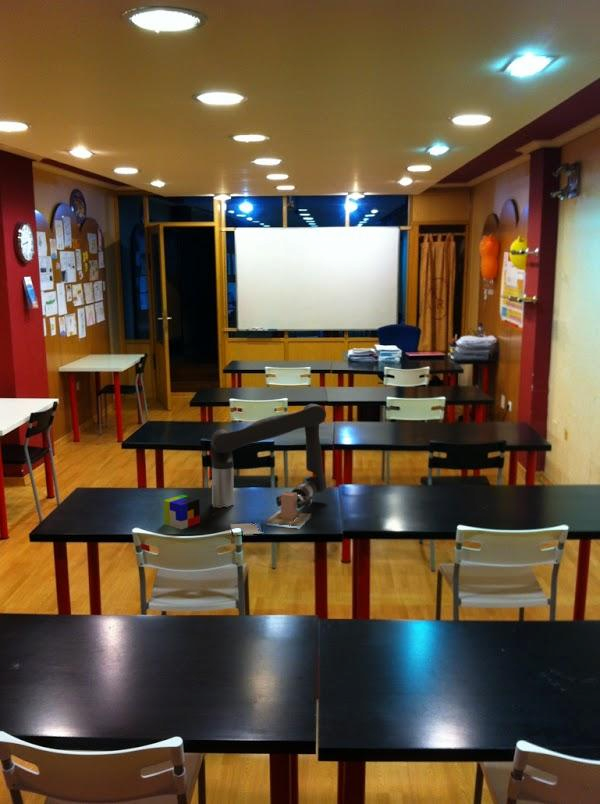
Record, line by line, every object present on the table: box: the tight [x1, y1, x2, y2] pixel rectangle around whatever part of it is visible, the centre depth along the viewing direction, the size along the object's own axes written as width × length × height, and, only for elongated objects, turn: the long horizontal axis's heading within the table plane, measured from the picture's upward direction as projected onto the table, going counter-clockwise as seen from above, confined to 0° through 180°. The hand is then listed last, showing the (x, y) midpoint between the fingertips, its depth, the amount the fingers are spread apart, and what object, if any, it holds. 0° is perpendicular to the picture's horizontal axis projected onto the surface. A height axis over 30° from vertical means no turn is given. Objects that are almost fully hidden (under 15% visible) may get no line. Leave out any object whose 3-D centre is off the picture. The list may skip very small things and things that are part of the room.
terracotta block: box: [280, 491, 298, 521], centre depth 289 cm, size 5×5×12 cm
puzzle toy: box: [163, 494, 201, 530], centre depth 286 cm, size 10×10×10 cm
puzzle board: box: [266, 509, 312, 526], centre depth 289 cm, size 14×14×2 cm
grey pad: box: [229, 522, 264, 537], centre depth 280 cm, size 12×12×1 cm
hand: (288, 505), depth 287 cm, fingers open, 8 cm apart
